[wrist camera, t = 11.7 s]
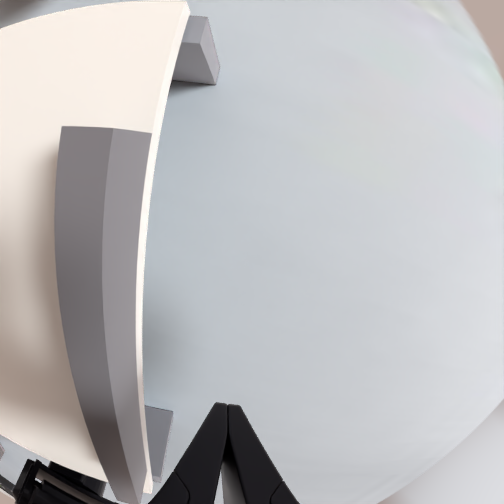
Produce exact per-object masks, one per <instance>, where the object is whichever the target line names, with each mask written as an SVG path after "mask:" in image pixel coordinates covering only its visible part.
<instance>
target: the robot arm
mask: <svg viewBox="0 0 504 504" xmlns="http://www.w3.org/2000/svg"><path fill="white" fill-rule="evenodd" d="M220 471H221V474H222V487H223V499H224V504H300V503H299V502H298V501H297V500H296V498H295V497H294V495H293V494H292V493H291V491H290V490H289V488H288V487H287V485H286V483H285V482H284V481H283V479H282V477H281V476H280V474H279V472H278V471H277V469H276V467H275V466H274V464H273V463H272V461H271V459H270V458H269V456H268V454H267V452H266V451H265V449H264V447H263V446H262V444H261V442H260V440H259V439H258V437H257V435H256V433H255V432H254V430H253V428H252V426H251V424H250V423H249V421H248V419H247V417H246V415H245V414H244V412H243V410H242V408H241V406H239V405H234V404H228V405H227V404H225V403H218V402H216V403H215V404H214V405H213V407H212V409H211V410H210V412H209V414H208V415H207V417H206V419H205V420H204V422H203V424H202V425H201V427H200V429H199V430H198V432H197V434H196V435H195V437H194V438H193V440H192V442H191V443H190V445H189V447H188V448H187V450H186V451H185V453H184V455H183V456H182V458H181V459H180V461H179V463H178V464H177V466H176V467H175V469H174V472H172V473H171V475H170V476H169V478H168V480H167V481H166V482H165V484H164V485H163V487H162V488H161V489H160V491H159V492H158V493H157V494H156V495H155V496H154V498H153V499H152V500H151V501H150V502H149V503H148V504H214V500H215V495H216V490H217V485H218V480H219V476H220ZM35 478H38V479H39V480H41V481H42V482H41V483H39V482H38V481H36V480H35ZM106 483H107V482H105V481H102V480H99V479H96V478H93V477H90V476H87V475H85V474H82V473H79V472H77V471H74V470H71V469H69V468H67V467H64V466H62V465H59V464H57V463H55V462H53V461H50V463H49V466H48V467H47V466H45V465H44V464H42V462H40V461H39V460H37V459H36V461H32V460H30V459H27V461H26V464H25V466H24V468H23V470H22V472H21V474H20V476H19V479H18V481H17V483H16V485H15V488H14V490H13V492H12V493H13V496H14V498H15V500H16V501H15V504H118V503H116V502H112V501H110V500H107V499H105V498H103V493H104V490H105V486H106Z"/></svg>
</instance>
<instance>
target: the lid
mask: <svg viewBox="0 0 504 504" xmlns="http://www.w3.org/2000/svg"><path fill="white" fill-rule="evenodd" d="M189 14H190V10H189V7H188V5H187V2H186V1H176V0H155V1H131V2H119V3H109V4H100V5H93V6H86V7H80V8H75V9H69V10H64V11H60V12H55V13H51V14H47V15H43V16H39V17H35V18H32V19H28V20H25V21H21V22H18V23H15V24H12V25H9V26H6V27H3V28H1V29H0V434H1V435H2V436H4V437H6V438H8V439H9V440H11V441H13V442H15V443H16V444H18V445H20V446H22V447H24V448H26V449H28V450H30V451H32V452H34V453H36V454H38V455H40V456H42V457H44V458H46V459H48V460H50V461H53V462H55V463H57V464H59V465H62V466H64V467H67V468H69V469H71V470H74V471H77V472H79V473H82V474H85V475H87V476H90V477H93V478H96V479H99V480H102V481H105V482H108V483H109V484H110V486H111V488H112V491H113V493H114V495H115V497H116V499H117V500H118V501H121V502H125V503H129V504H140V503H141V498H142V493H143V492H145V493H149V494H152V488H153V480H152V474H151V466H150V459H149V450H148V441H147V431H146V420H145V406H144V389H143V362H142V309H143V281H144V264H145V249H146V237H147V226H148V216H149V207H150V198H151V190H152V183H153V176H154V169H155V162H156V156H157V150H158V144H159V138H160V132H161V127H162V122H163V117H164V112H165V107H166V102H167V97H168V93H169V88H170V84H171V80H172V75H173V71H174V67H175V63H176V60H177V56H178V52H179V48H180V45H181V41H182V38H183V34H184V31H185V27H186V24H187V21H188V18H189Z"/></svg>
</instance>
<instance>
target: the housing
mask: <svg viewBox="0 0 504 504" xmlns="http://www.w3.org/2000/svg"><path fill="white" fill-rule="evenodd" d="M219 70H220V64H219V60H218V56H217V52H216V48H215V44H214V40H213V36H212V32H211V28H210V24H209V21H208V17H202V16H189V18H188V21H187V24H186V27H185V31H184V34H183V38H182V41H181V45H180V48H179V52H178V56H177V60H176V63H175V67H174V71H173V75H172V80H177V81H188V82H197V83H205V84H213V85H216V83H217V79H218V74H219ZM145 420H146V431H147V441H148V450H149V459H150V466H151V474H152V480H153V481H155V482H159V483H161V480H162V475H163V469H164V463H165V458H166V452H167V447H168V442H169V436H170V431H171V426H172V421H173V412H172V411H167V410H162V409H157V408H153V407H148V406H145Z"/></svg>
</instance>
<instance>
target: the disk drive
mask: <svg viewBox="0 0 504 504" xmlns="http://www.w3.org/2000/svg"><path fill="white" fill-rule="evenodd" d="M0 488H1V489H3V490H4V491H6V492H7V493H8V494H10V495H11V496H13V493H12V492H13V490H14V488H15V485H14V484H12V483H11V482H9V481H8V480H7V479H5V478H4V477H2V476H1V475H0ZM13 497H14V496H13Z"/></svg>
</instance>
